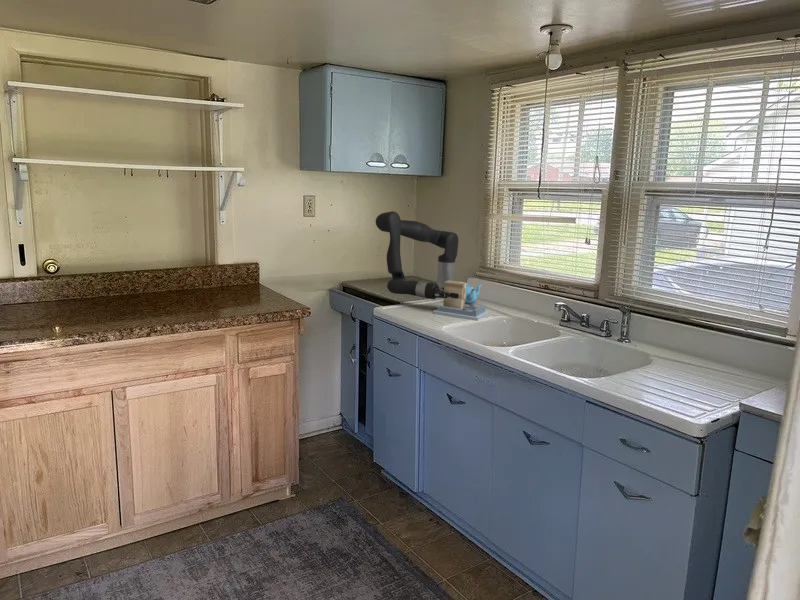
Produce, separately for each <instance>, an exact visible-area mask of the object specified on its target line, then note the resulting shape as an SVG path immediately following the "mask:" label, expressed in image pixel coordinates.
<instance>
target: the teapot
mask: <svg viewBox="0 0 800 600" xmlns="http://www.w3.org/2000/svg"><path fill="white" fill-rule="evenodd" d="M459 282H462V281H461V280H460V281H459ZM482 285H483V284H482V283H481V284H479V285H478V286H477V287H476V288H474V287H473V286H471V285H470V284H468V283H466V296H465V304H468V305H470V304H474V303H476V301H477V300H478V297H479V296H480V294H481V293H480V290H481V286H482ZM475 289H476V290H475Z"/></svg>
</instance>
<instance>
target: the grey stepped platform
mask: <svg viewBox="0 0 800 600" xmlns="http://www.w3.org/2000/svg"><path fill="white" fill-rule="evenodd" d="M486 308H487V307H486V304H482V305H475V304H474V303H473V304H468V303H465V308H463V309H462V308H452V307H445V306H443V305H439V306H438V308H436V309H434V310H433V311H432V314H434V315H439V316H440V315H441V316H445V315H446V316H447V317H452V318H459V319H464V320H471V321H477V322H478V321H479V320H481V319H483V318H485V317H486V316H489V314H490V311H489V310H486Z"/></svg>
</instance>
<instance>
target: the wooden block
mask: <svg viewBox="0 0 800 600" xmlns="http://www.w3.org/2000/svg"><path fill="white" fill-rule="evenodd" d="M466 284H467V282H463V281H461V282H460V281H456V280H454V281H450V280H448V281H446V282H445V288H444V290H445V291H447V292H451V293H457V294H459V296H458V298H443V303H442V304H443V305H442V306H445V307H452V308H462V309H463V308H465V304H466V303H465V296H466Z"/></svg>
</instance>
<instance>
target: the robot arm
mask: <svg viewBox="0 0 800 600" xmlns="http://www.w3.org/2000/svg"><path fill="white" fill-rule="evenodd" d="M375 225H376V227H377V228H378V229H379V231H382V232H385V233H389V245H388V247H387V250H386V251H387V252H386V267H387V273H389V274H390V275H391V278H392V279H390V280H389V281H388V282H387V285H386V287H387V290H388V291H389V292H390V293H392V294H395V295H396V294H398V295H410V296H416V297H419V298H424V299H431V300H436V299H437V298H439V299H440V298H441V299H444V298H458V296H459V294H457V293H451V292H447V291H445V290H444V288H445V282H446V281H448V280H450V281H455V271H456V270H455V268H456V259H457V257H458V250H459V237H458V234H457V233H456V232H454V231H453V232H452V231H448V230H445V231H444V230H439V229H434V228H431V227H430V226H429V225H428V224H426V223H423V222H421V221H415V220H408V219H407V220H406V219H405V220H404V219H401V217H400V215H399V213H398V212H396V211H394V210H392V211H387V212H383V213H380V214H379V215H377V216H376V218H375ZM401 237H405V238H409V239H412V240H413V241H417V242H422V243H430V244H432V245H435V246H436V247H439V248H441V249H444V252H443V253H442V254H440V255H438V257H437V270H436V271H437V272H436V273H437V275H436V283H434V282H427V281H416V280H407V279H406V276H405V272H404V271H403V267H402V259H401Z"/></svg>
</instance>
